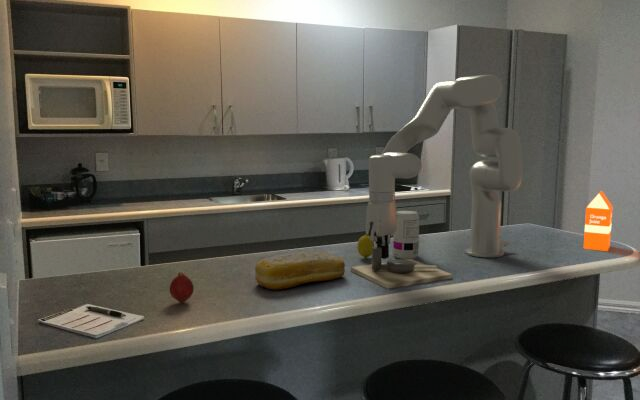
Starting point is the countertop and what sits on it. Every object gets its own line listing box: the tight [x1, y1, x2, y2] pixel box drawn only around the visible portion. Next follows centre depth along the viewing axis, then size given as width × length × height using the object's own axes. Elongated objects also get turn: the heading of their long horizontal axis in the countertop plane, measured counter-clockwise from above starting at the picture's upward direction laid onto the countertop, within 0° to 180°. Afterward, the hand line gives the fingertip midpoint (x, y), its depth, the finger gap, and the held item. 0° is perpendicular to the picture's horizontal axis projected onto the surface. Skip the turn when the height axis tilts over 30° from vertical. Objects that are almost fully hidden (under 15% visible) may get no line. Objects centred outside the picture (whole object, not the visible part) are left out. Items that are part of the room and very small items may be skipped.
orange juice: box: [583, 190, 614, 252], centre depth 196 cm, size 8×9×20 cm
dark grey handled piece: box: [371, 246, 437, 273], centre depth 163 cm, size 19×8×6 cm, turn 90°
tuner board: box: [350, 259, 453, 290], centre depth 163 cm, size 22×20×1 cm
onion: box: [169, 271, 195, 304], centre depth 138 cm, size 6×6×8 cm
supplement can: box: [392, 210, 420, 260], centre depth 184 cm, size 8×8×15 cm
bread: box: [254, 251, 346, 291], centre depth 157 cm, size 13×26×8 cm, turn 126°
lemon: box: [357, 234, 375, 259], centre depth 182 cm, size 6×6×8 cm
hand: (382, 257), depth 166 cm, fingers closed
